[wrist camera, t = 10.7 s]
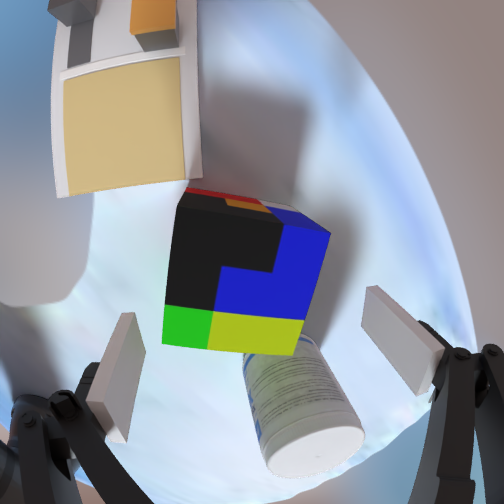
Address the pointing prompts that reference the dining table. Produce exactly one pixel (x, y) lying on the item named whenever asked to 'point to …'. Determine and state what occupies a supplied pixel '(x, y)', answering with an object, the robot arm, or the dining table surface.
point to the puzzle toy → (240, 274)
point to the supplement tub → (300, 412)
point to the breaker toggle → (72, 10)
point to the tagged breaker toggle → (155, 24)
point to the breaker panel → (123, 104)
